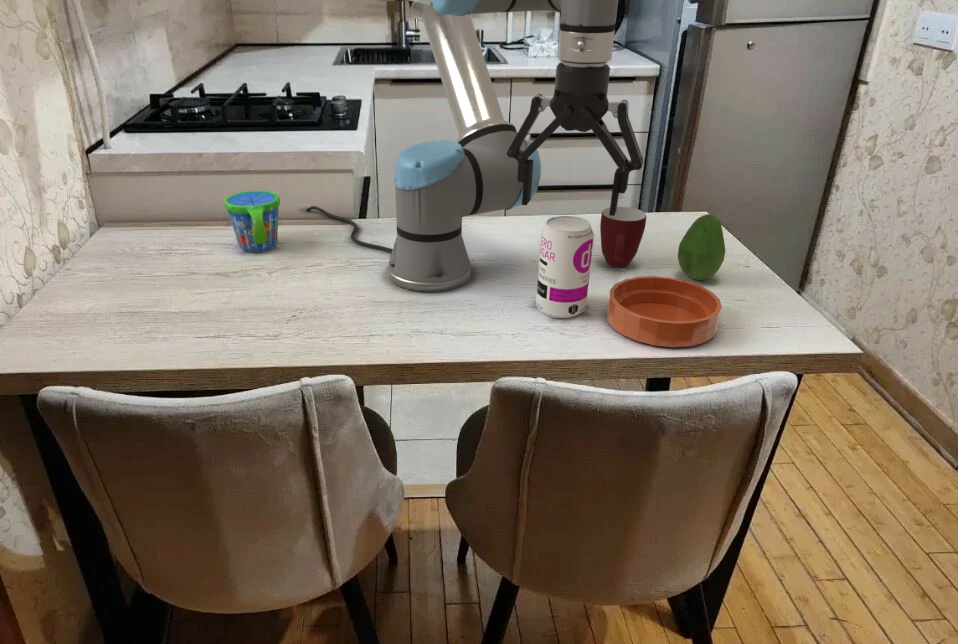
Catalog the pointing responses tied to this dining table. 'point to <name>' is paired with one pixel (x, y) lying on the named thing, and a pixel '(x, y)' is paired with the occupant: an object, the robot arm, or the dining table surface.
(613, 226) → the mug
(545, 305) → the supplement can
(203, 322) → the dining table surface
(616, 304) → the bowl
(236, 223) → the snack cup
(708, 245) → the avocado
